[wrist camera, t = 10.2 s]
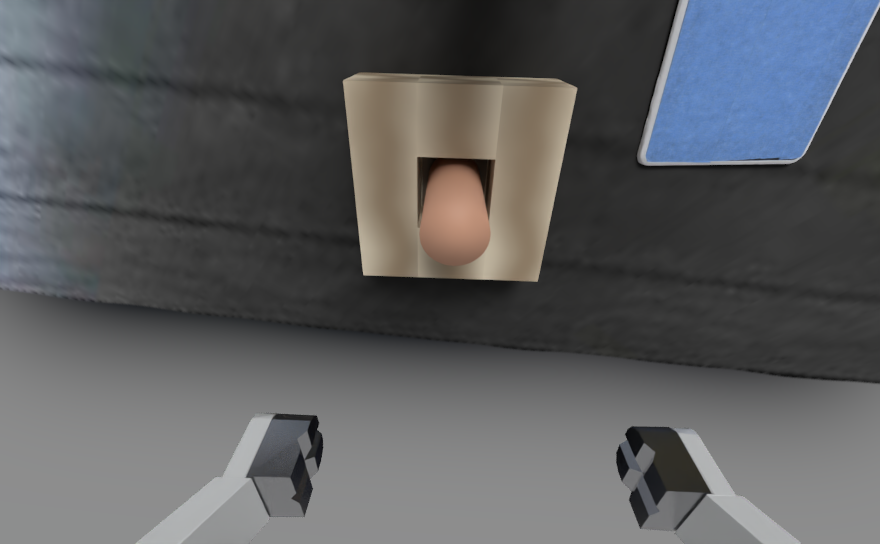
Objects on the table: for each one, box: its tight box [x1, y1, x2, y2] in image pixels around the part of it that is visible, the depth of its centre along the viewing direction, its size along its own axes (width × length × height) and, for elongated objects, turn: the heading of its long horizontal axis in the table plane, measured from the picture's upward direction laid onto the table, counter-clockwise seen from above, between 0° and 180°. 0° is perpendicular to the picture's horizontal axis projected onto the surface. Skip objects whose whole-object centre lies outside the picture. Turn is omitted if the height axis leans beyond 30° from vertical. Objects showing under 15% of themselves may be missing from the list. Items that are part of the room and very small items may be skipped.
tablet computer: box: [637, 0, 880, 166], centre depth 24 cm, size 19×13×1 cm, turn 1°
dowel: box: [419, 158, 491, 266], centre depth 25 cm, size 4×4×10 cm
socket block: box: [343, 73, 577, 281], centre depth 28 cm, size 14×14×5 cm
